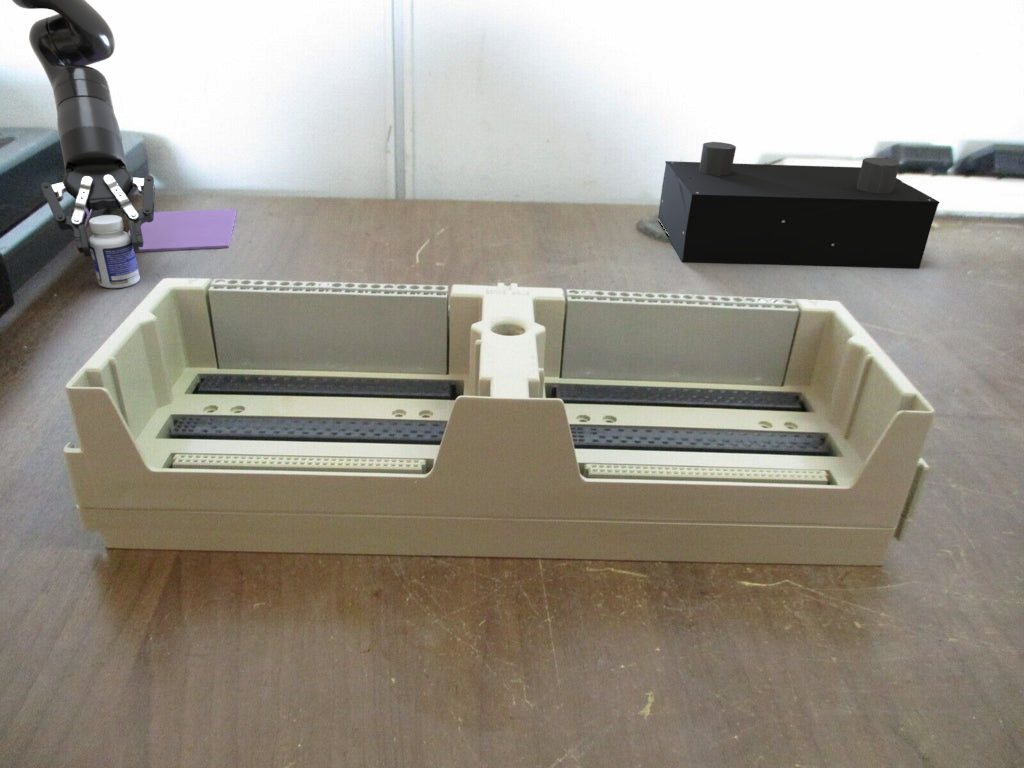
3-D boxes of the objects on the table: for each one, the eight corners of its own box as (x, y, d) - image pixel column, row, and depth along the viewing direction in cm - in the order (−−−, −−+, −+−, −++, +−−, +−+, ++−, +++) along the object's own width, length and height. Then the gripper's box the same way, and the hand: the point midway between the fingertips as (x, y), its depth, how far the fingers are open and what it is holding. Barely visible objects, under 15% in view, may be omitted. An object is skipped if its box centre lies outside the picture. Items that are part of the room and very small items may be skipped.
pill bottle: (148, 277, 108) (136, 215, 103) (126, 290, 103) (112, 226, 99) (112, 273, 108) (99, 211, 104) (89, 287, 104) (74, 223, 99)
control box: (681, 261, 120) (696, 165, 113) (655, 216, 141) (665, 132, 134) (919, 268, 121) (948, 172, 114) (856, 222, 142) (878, 139, 135)
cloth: (117, 253, 116) (116, 250, 116) (140, 214, 133) (139, 212, 132) (228, 247, 119) (228, 245, 119) (236, 211, 136) (236, 208, 136)
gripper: (24, 126, 99) (44, 244, 95) (145, 121, 104) (168, 232, 101) (37, 159, 105) (56, 270, 102) (150, 153, 111) (172, 258, 107)
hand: (112, 250), depth 101 cm, fingers closed on pill bottle, 5 cm apart
